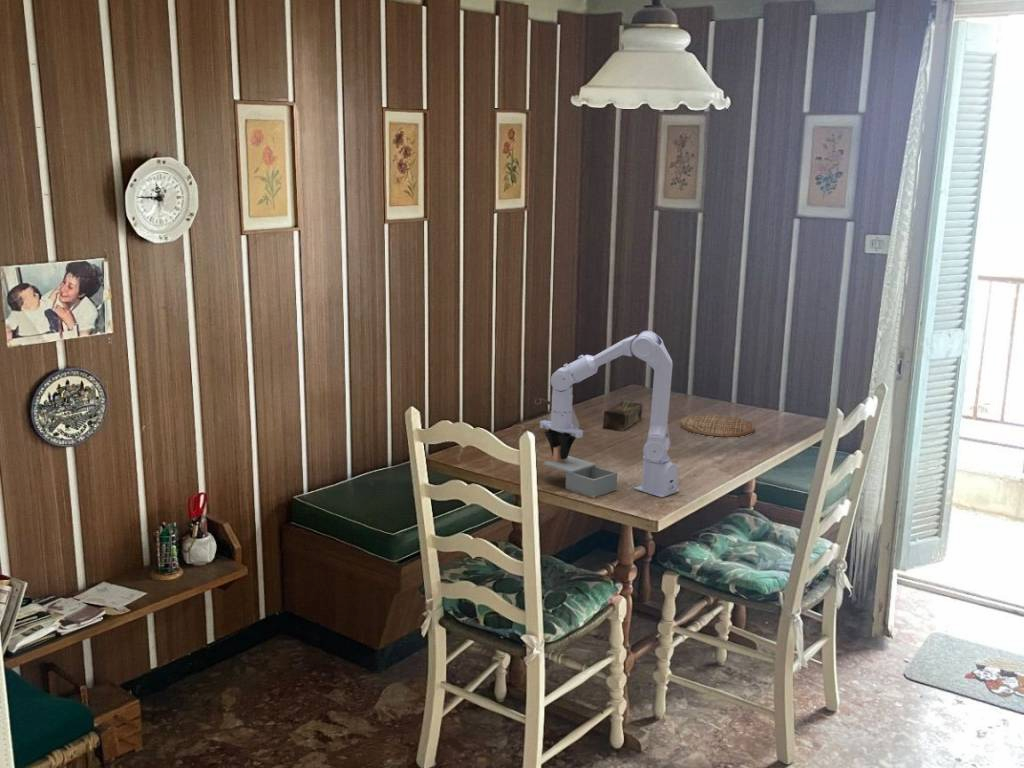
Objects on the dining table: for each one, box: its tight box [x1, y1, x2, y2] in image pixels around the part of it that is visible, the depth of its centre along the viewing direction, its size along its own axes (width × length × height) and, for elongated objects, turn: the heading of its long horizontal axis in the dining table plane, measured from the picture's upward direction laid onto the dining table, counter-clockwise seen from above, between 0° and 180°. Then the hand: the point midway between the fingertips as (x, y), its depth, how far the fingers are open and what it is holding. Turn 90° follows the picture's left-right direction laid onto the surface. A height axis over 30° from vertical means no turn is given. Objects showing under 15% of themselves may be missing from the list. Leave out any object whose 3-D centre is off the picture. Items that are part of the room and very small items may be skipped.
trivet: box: [679, 414, 756, 438], centre depth 346 cm, size 25×25×2 cm
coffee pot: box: [534, 395, 581, 432], centre depth 329 cm, size 21×12×15 cm, turn 145°
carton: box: [564, 465, 618, 499], centre depth 278 cm, size 10×10×5 cm
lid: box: [543, 446, 597, 473], centre depth 283 cm, size 10×10×5 cm
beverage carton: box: [602, 400, 643, 432], centre depth 348 cm, size 8×19×7 cm, turn 154°
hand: (560, 457), depth 285 cm, fingers open, 3 cm apart
